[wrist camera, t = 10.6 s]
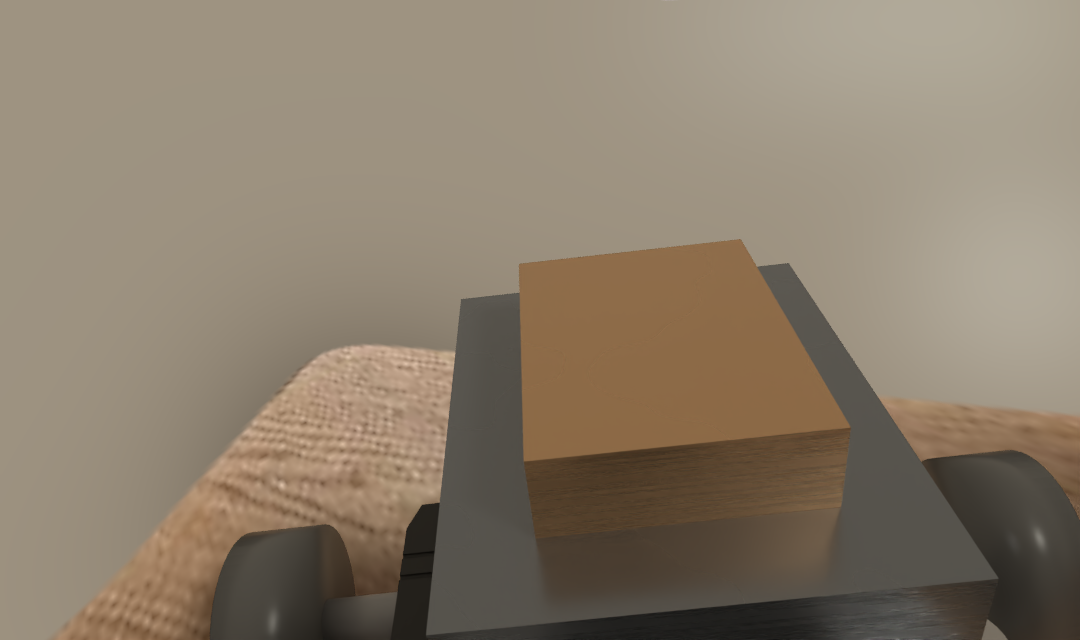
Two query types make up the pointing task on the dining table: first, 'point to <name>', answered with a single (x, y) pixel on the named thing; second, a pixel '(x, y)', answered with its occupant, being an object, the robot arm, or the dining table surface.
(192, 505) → the dining table surface
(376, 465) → the dining table surface
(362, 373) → the dining table surface
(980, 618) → the tall block with cap
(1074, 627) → the chassis
